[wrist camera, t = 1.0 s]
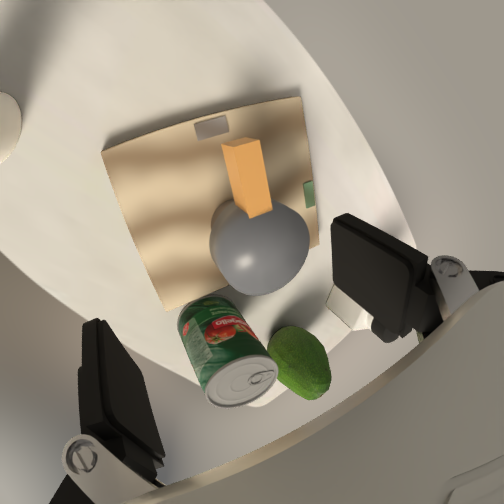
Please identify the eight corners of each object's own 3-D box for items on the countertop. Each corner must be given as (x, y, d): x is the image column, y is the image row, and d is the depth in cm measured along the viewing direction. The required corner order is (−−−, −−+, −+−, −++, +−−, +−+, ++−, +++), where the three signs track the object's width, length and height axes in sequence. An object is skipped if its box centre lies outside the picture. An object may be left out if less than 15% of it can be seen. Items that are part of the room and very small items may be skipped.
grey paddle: (294, 257, 30) (313, 272, 27) (222, 290, 27) (235, 309, 25) (274, 128, 23) (295, 130, 20) (180, 154, 21) (191, 160, 18)
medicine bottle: (324, 305, 44) (375, 352, 35) (341, 264, 42) (400, 307, 32) (353, 303, 48) (402, 344, 38) (370, 266, 46) (424, 304, 36)
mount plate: (101, 150, 23) (97, 158, 18) (292, 96, 28) (324, 96, 24) (163, 304, 32) (174, 335, 28) (312, 239, 38) (339, 258, 33)
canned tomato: (181, 350, 36) (208, 416, 27) (173, 302, 33) (201, 371, 24) (237, 335, 39) (275, 394, 30) (237, 288, 36) (282, 346, 27)
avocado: (249, 358, 42) (289, 417, 33) (265, 316, 40) (314, 376, 30) (292, 353, 46) (334, 404, 37) (309, 314, 44) (359, 364, 34)
